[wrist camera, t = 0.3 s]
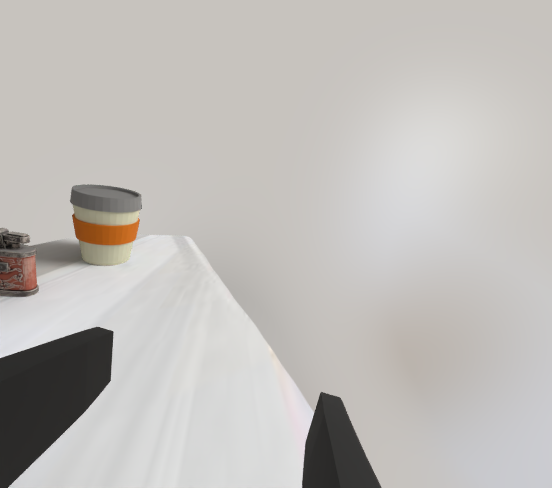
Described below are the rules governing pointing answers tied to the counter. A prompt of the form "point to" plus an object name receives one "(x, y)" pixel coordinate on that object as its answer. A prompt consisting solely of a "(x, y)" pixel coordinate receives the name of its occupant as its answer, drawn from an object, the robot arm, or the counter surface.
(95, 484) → the counter surface
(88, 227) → the reusable coffee cup
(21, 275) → the lighter
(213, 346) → the counter surface
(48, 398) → the robot arm
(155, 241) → the counter surface
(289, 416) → the counter surface
